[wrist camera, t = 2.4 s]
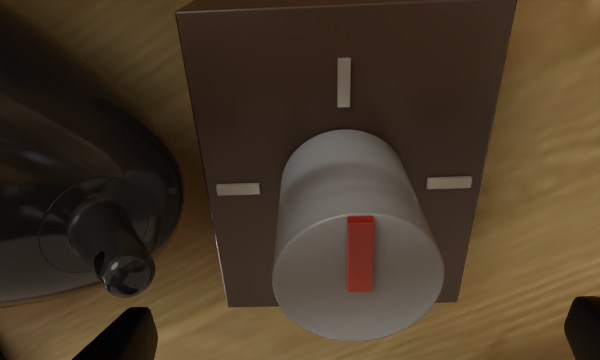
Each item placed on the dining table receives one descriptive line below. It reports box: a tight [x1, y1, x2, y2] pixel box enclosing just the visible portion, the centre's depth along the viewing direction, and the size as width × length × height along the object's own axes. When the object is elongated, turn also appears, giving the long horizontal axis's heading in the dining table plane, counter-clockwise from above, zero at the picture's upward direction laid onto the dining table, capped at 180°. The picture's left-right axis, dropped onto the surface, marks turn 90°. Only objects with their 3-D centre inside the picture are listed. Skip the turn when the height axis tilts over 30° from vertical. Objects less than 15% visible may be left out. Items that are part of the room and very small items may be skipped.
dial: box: [272, 130, 444, 341], centre depth 12 cm, size 4×4×5 cm
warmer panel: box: [175, 0, 517, 307], centre depth 15 cm, size 11×9×3 cm
